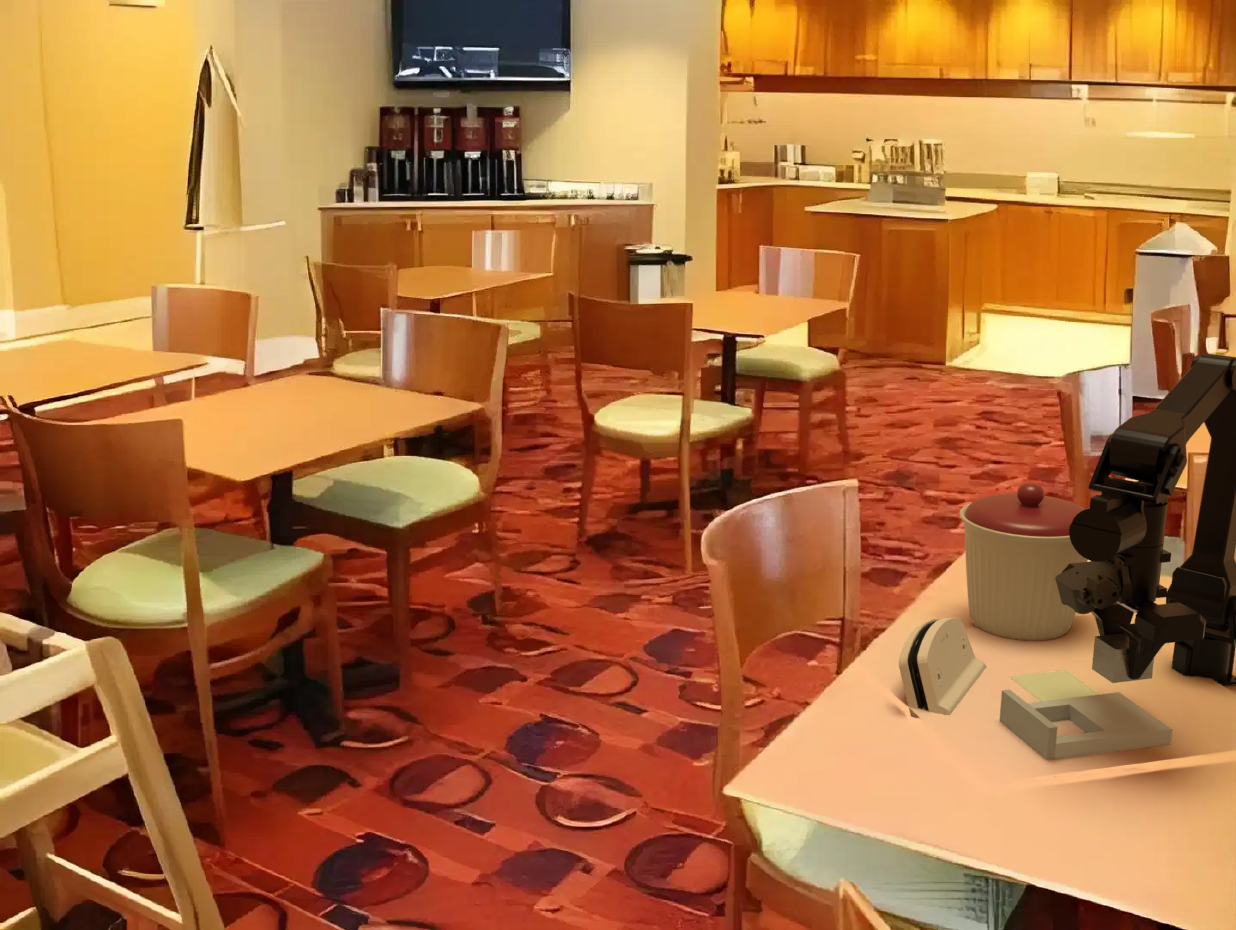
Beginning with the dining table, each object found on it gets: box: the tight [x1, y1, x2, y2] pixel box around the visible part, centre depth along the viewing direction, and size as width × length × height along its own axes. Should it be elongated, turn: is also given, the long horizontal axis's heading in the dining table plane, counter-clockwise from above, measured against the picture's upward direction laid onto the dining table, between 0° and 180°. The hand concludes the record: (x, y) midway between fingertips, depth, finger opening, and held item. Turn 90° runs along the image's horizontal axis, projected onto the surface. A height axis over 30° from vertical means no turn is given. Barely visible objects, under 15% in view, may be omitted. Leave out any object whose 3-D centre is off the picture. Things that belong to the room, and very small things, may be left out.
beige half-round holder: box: [898, 617, 987, 719], centre depth 166 cm, size 17×5×10 cm, turn 150°
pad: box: [1008, 669, 1101, 702], centre depth 166 cm, size 8×8×1 cm
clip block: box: [1091, 633, 1155, 684], centre depth 153 cm, size 5×4×4 cm
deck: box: [999, 688, 1173, 761], centre depth 153 cm, size 16×10×5 cm, turn 104°
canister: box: [959, 482, 1089, 642], centre depth 184 cm, size 18×18×21 cm
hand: (1122, 671), depth 153 cm, fingers closed on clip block, 4 cm apart
